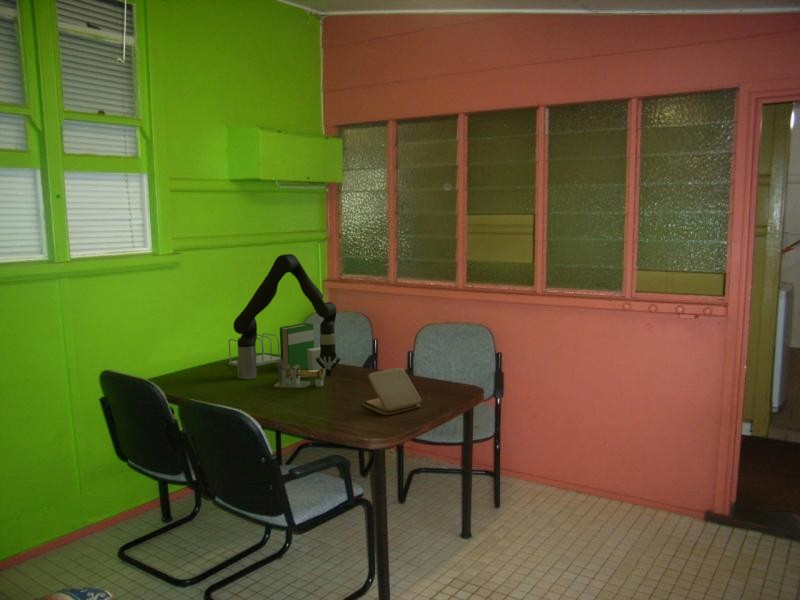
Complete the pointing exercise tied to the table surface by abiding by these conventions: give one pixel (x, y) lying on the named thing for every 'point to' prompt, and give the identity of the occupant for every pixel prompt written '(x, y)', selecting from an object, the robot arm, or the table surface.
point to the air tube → (308, 373)
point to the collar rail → (295, 382)
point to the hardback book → (296, 344)
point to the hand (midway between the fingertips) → (328, 376)
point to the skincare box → (314, 359)
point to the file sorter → (260, 358)
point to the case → (392, 392)
